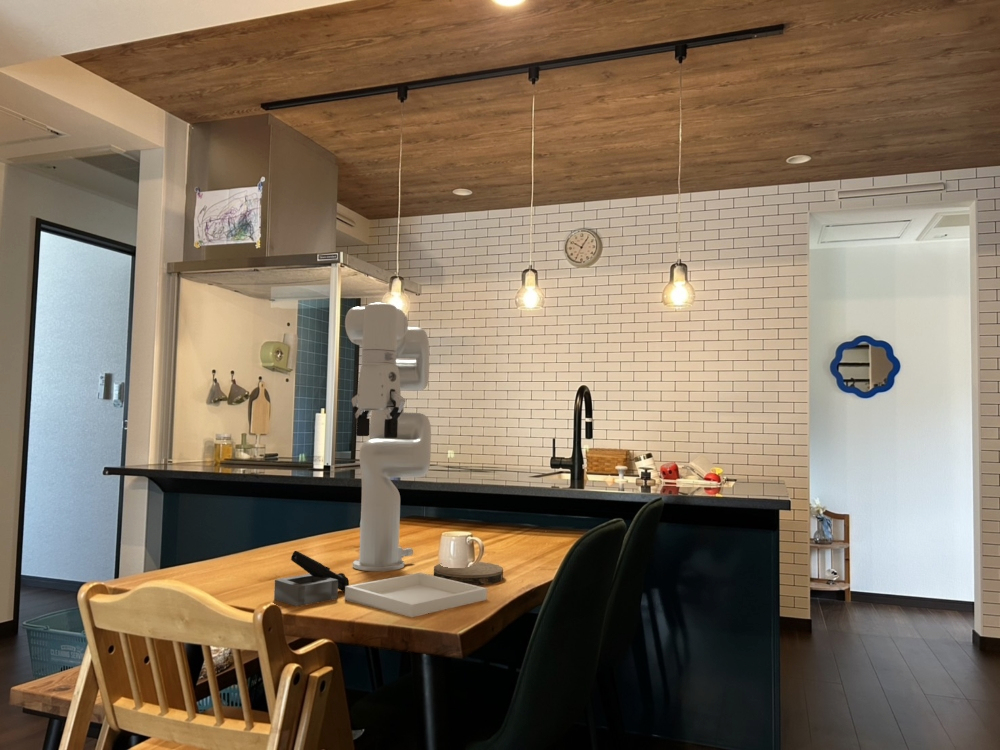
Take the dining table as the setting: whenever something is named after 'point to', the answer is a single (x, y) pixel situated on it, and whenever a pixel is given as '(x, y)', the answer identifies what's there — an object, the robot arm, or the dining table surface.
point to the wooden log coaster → (472, 573)
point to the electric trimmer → (319, 569)
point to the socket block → (305, 589)
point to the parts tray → (414, 594)
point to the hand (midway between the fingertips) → (376, 436)
